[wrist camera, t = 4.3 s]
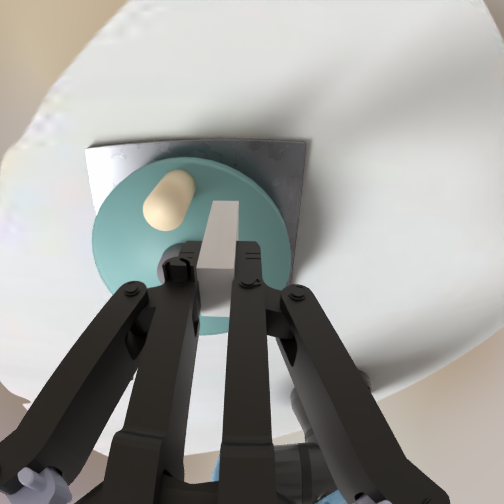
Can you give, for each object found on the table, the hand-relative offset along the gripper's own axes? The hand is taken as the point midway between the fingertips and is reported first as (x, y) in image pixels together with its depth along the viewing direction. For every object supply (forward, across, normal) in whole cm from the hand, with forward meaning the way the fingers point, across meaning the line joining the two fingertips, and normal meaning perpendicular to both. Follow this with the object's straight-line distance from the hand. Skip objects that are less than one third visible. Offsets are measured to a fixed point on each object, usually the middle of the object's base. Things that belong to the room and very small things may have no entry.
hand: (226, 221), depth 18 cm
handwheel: (+9, +4, +8) cm, 13 cm away
